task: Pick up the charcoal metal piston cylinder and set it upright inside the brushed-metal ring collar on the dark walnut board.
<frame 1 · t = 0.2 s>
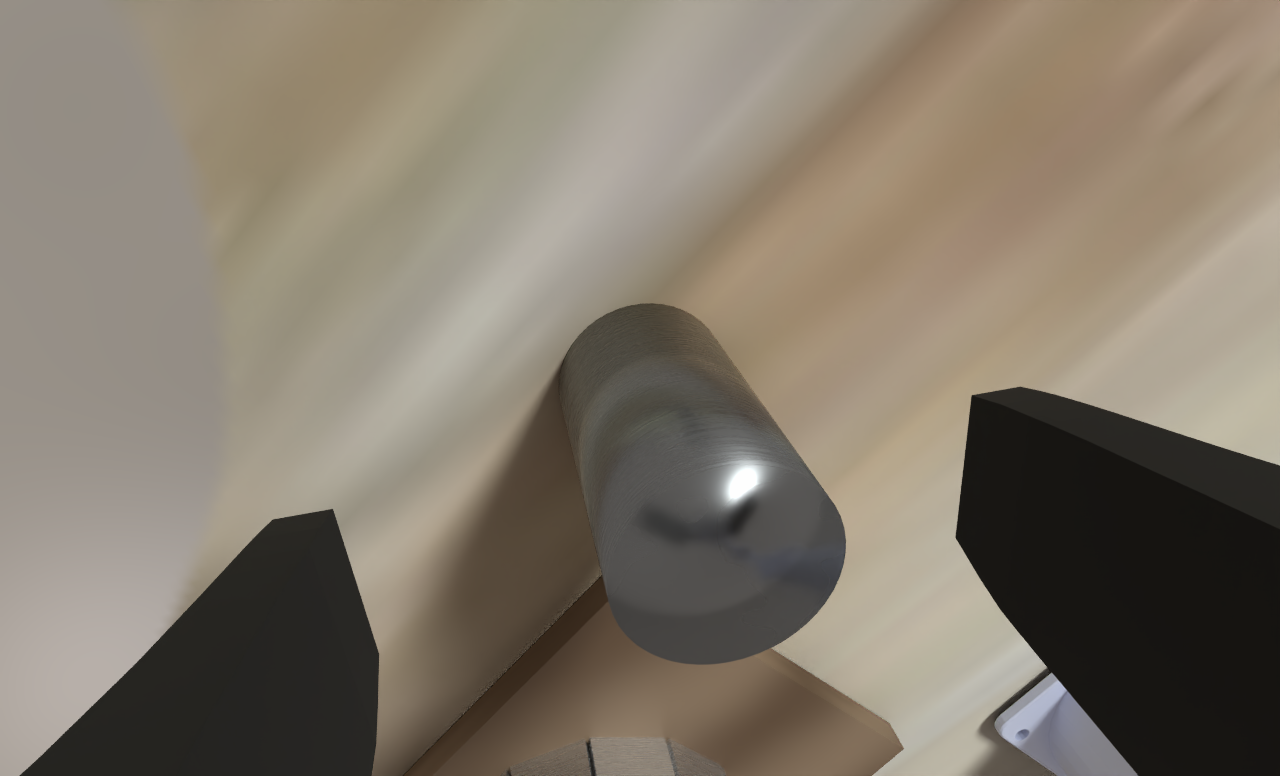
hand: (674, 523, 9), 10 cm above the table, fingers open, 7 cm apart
piston: (643, 383, 19), on the table
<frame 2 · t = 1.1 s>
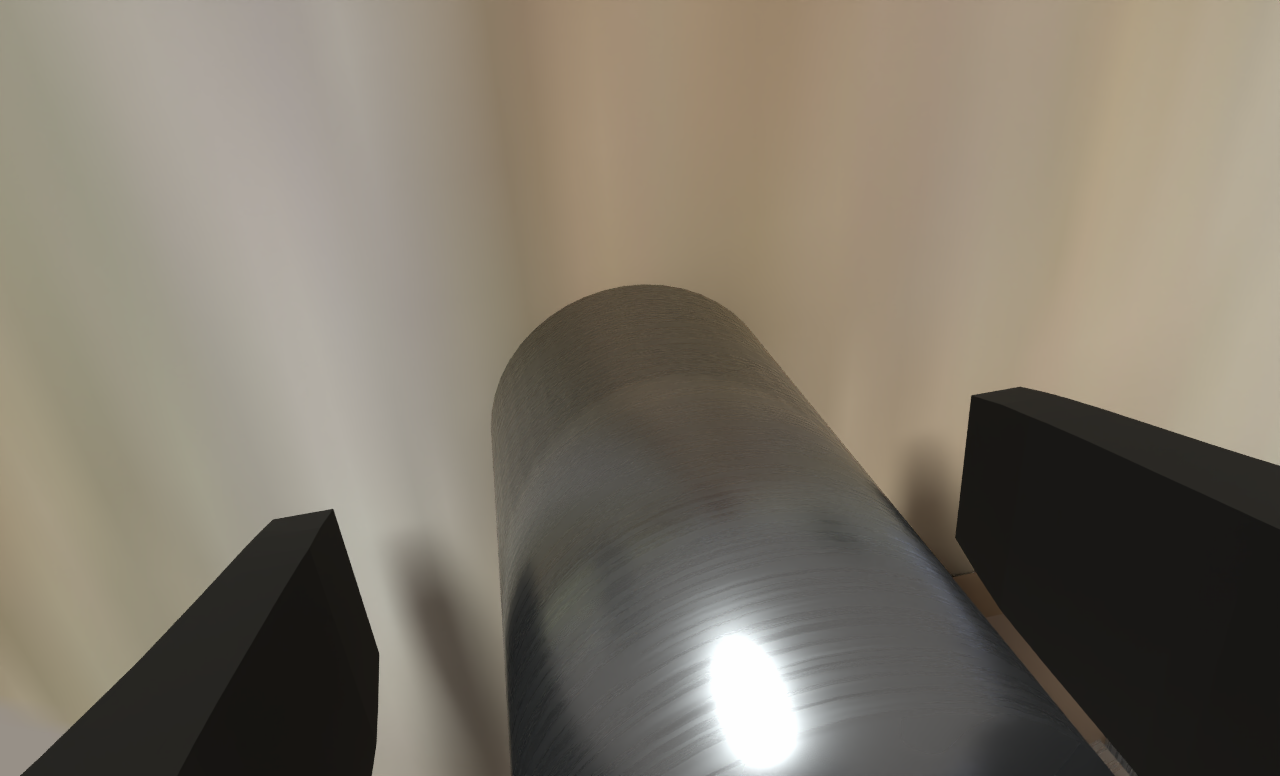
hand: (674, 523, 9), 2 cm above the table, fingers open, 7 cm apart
piston: (637, 421, 11), on the table
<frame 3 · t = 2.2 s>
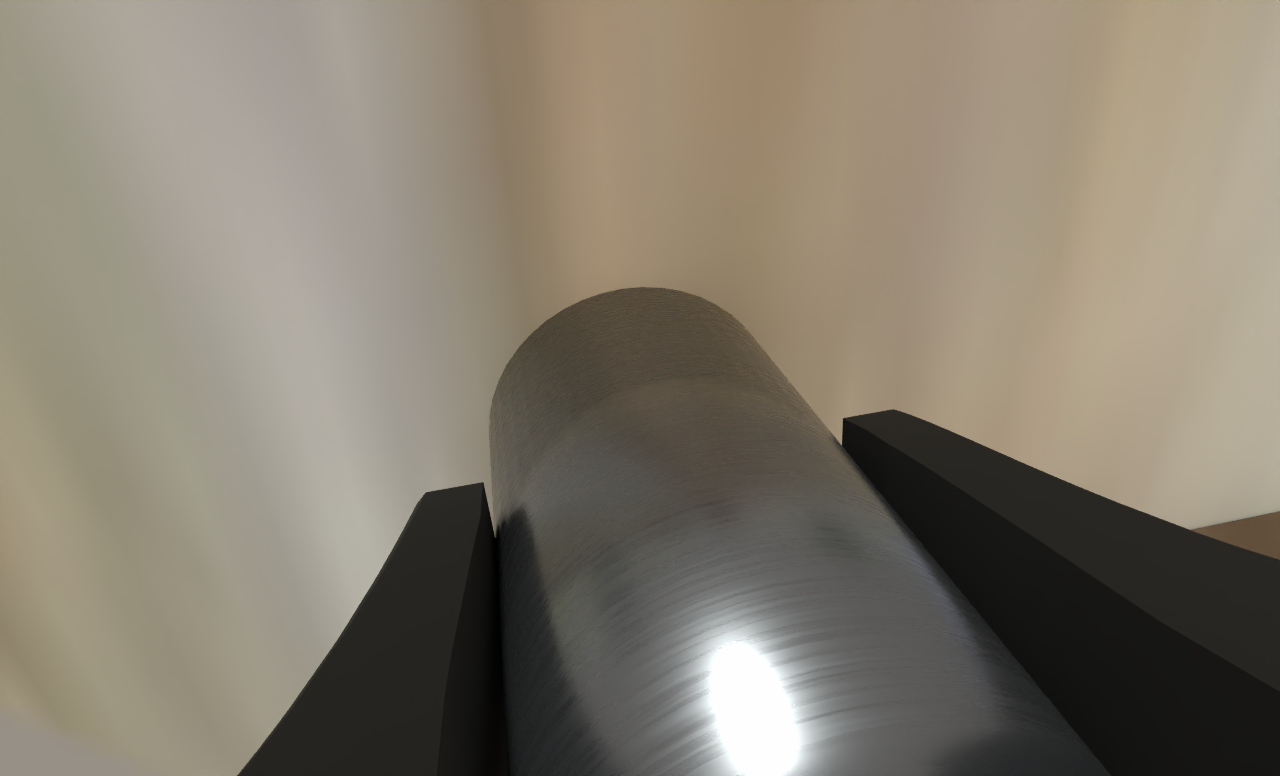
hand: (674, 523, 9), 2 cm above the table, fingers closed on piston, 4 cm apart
piston: (636, 425, 11), on the table, touching gripper
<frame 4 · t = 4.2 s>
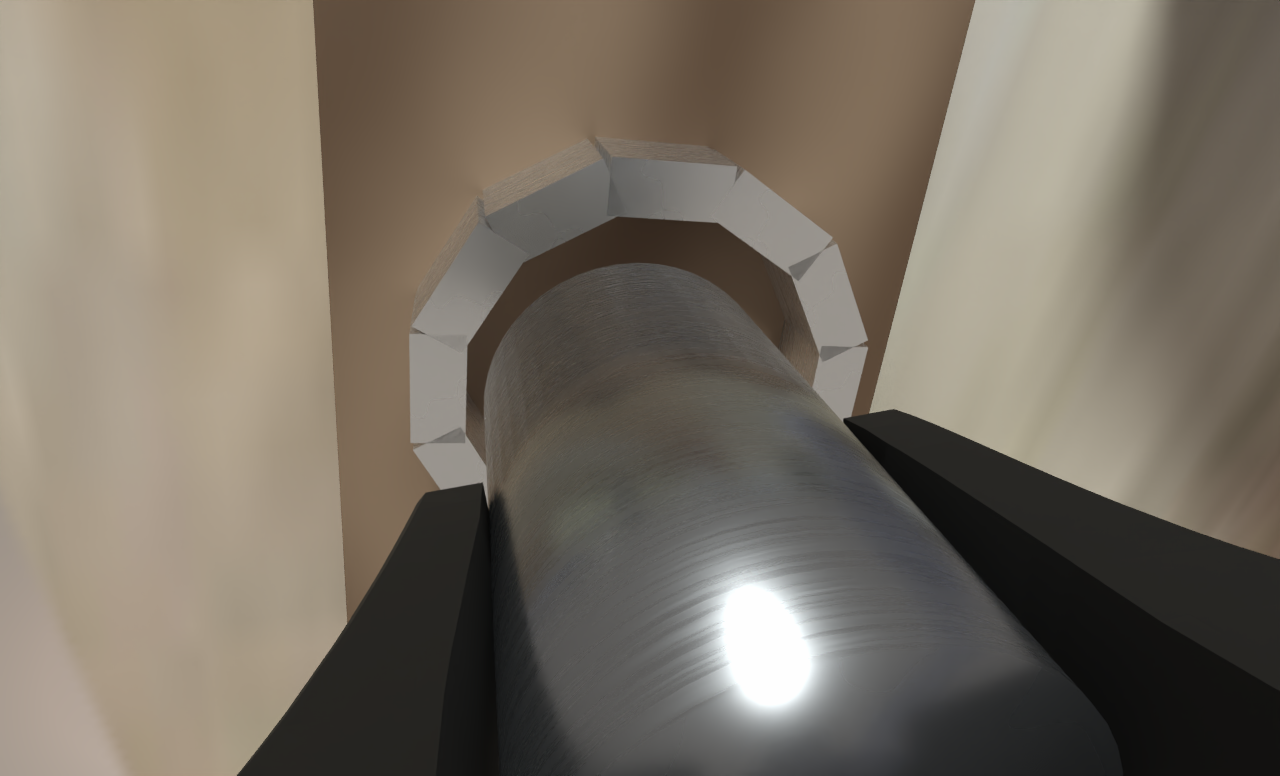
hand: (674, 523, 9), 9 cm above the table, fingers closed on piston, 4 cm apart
collar board: (620, 334, 18), on the table
piston: (630, 402, 11), point 7 cm above the table, touching gripper
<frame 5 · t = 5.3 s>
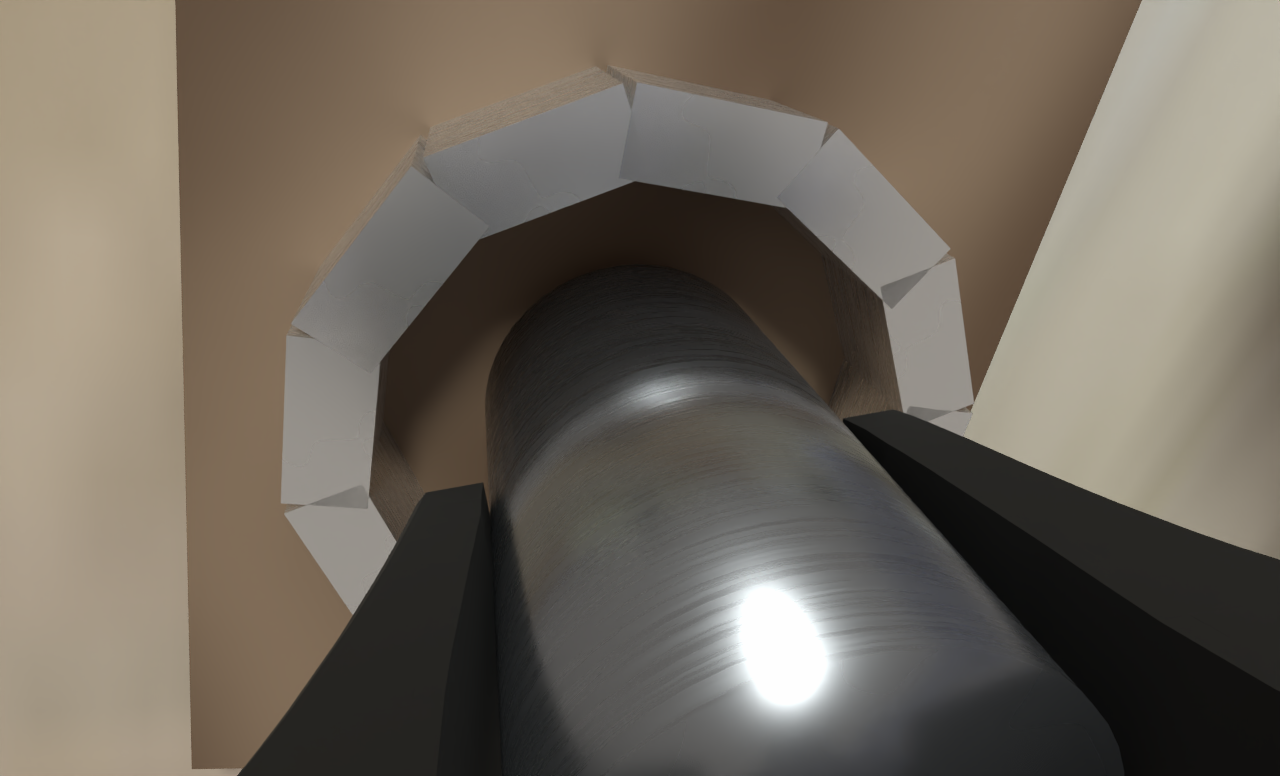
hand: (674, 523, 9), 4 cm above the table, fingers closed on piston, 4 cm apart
collar board: (612, 360, 13), on the table
piston: (631, 403, 11), point 2 cm above the table, touching gripper
when the fingers open (4 cm above the table, at t = 6.2 s): piston stays where it is, resting on collar board.
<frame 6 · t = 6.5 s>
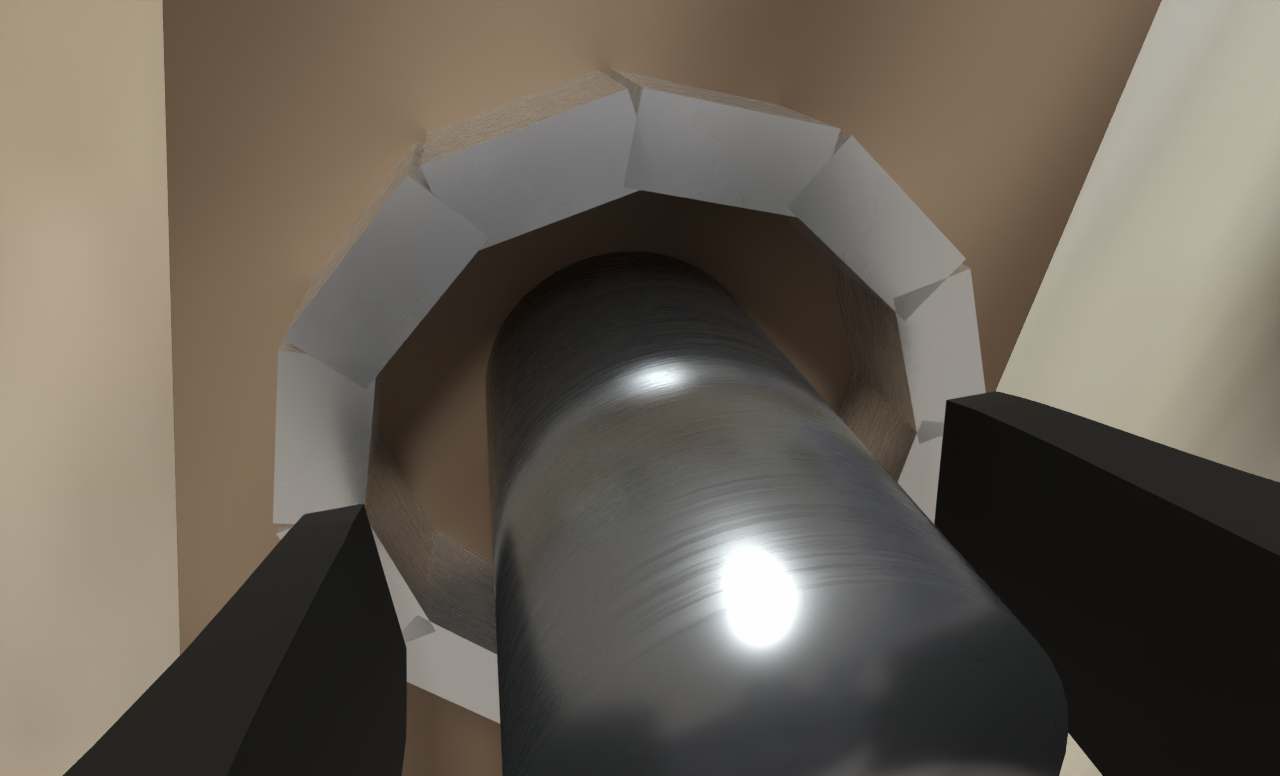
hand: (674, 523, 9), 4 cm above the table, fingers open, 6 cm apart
collar board: (615, 371, 13), on the table
piston: (625, 385, 12), point 1 cm above the table, touching collar board
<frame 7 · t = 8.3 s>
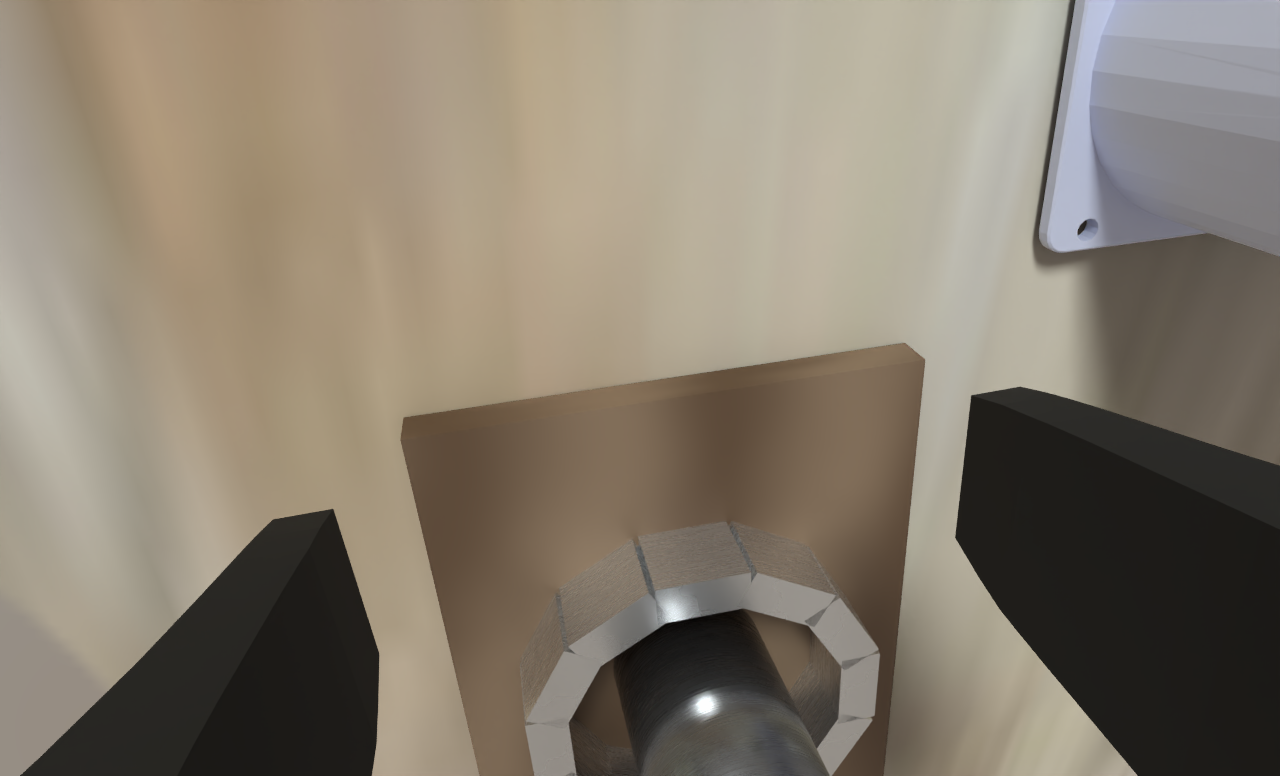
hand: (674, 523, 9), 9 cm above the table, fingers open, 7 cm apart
collar board: (680, 635, 23), on the table
piston: (687, 657, 22), point 1 cm above the table, touching collar board
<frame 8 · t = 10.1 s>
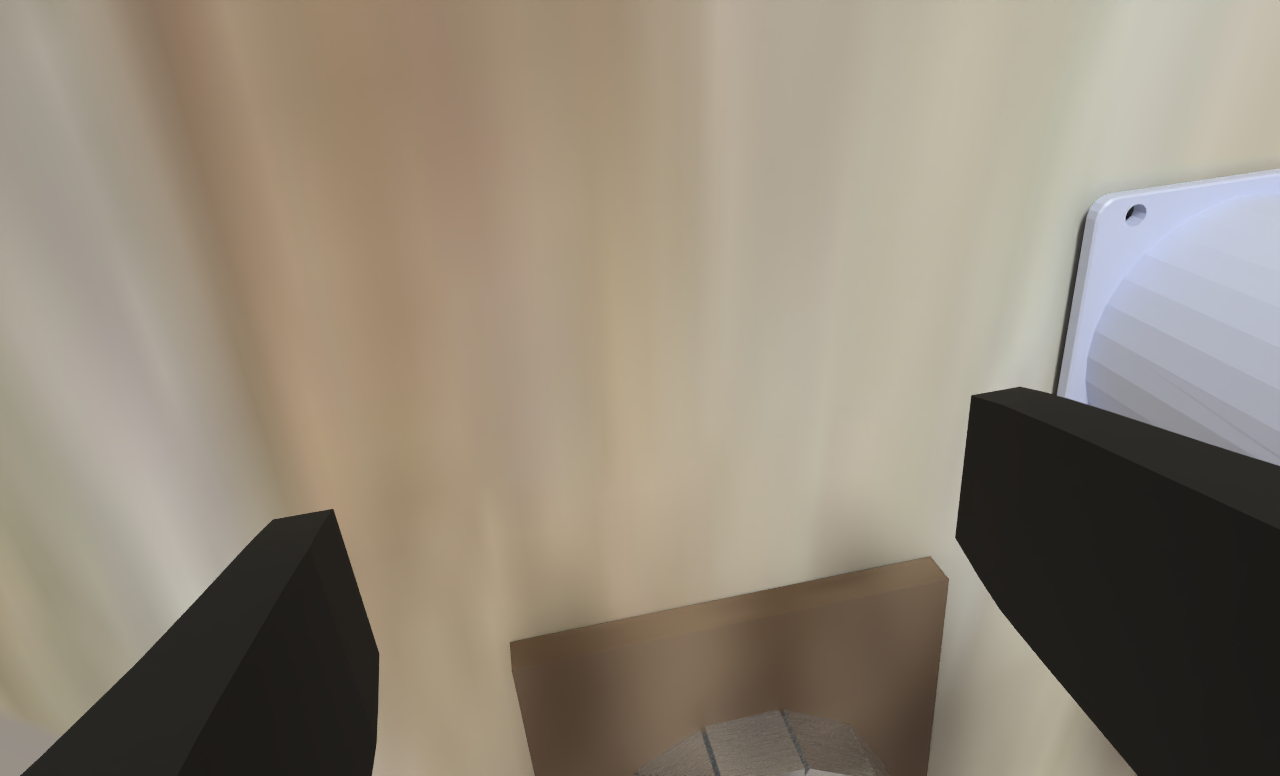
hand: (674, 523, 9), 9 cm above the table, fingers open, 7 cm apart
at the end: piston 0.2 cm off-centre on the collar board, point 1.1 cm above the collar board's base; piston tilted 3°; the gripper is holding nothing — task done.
